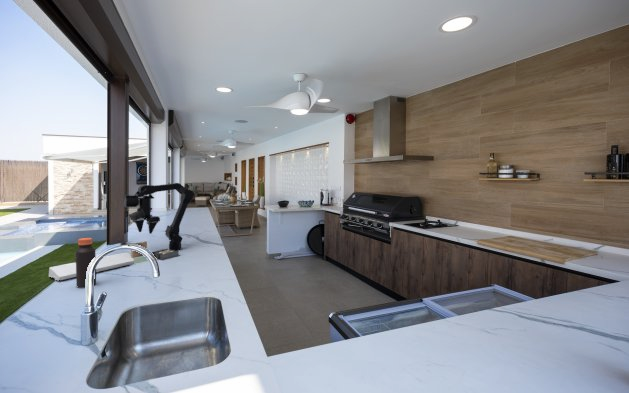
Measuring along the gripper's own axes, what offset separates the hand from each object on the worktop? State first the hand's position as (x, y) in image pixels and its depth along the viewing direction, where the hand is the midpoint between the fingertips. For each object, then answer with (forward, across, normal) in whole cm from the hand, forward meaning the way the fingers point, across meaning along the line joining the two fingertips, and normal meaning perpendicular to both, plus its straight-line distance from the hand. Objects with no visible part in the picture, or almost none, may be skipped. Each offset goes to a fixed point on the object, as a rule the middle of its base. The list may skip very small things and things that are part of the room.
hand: (145, 232), depth 187 cm
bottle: (+13, +26, -46) cm, 54 cm away
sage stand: (+13, +12, -12) cm, 21 cm away
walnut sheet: (+12, +12, -12) cm, 21 cm away
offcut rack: (+13, +15, +1) cm, 20 cm away
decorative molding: (+13, +8, -32) cm, 35 cm away
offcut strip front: (+12, +18, +1) cm, 22 cm away
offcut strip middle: (+12, +15, +1) cm, 19 cm away
